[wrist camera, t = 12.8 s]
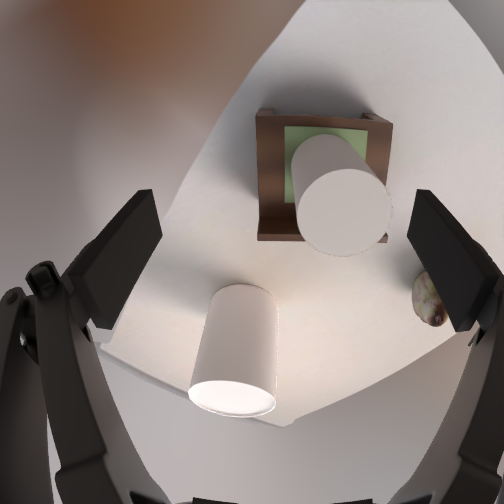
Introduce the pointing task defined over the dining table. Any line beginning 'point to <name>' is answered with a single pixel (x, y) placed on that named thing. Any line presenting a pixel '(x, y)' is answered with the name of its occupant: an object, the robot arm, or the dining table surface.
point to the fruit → (428, 301)
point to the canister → (238, 354)
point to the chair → (281, 153)
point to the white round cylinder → (338, 197)
